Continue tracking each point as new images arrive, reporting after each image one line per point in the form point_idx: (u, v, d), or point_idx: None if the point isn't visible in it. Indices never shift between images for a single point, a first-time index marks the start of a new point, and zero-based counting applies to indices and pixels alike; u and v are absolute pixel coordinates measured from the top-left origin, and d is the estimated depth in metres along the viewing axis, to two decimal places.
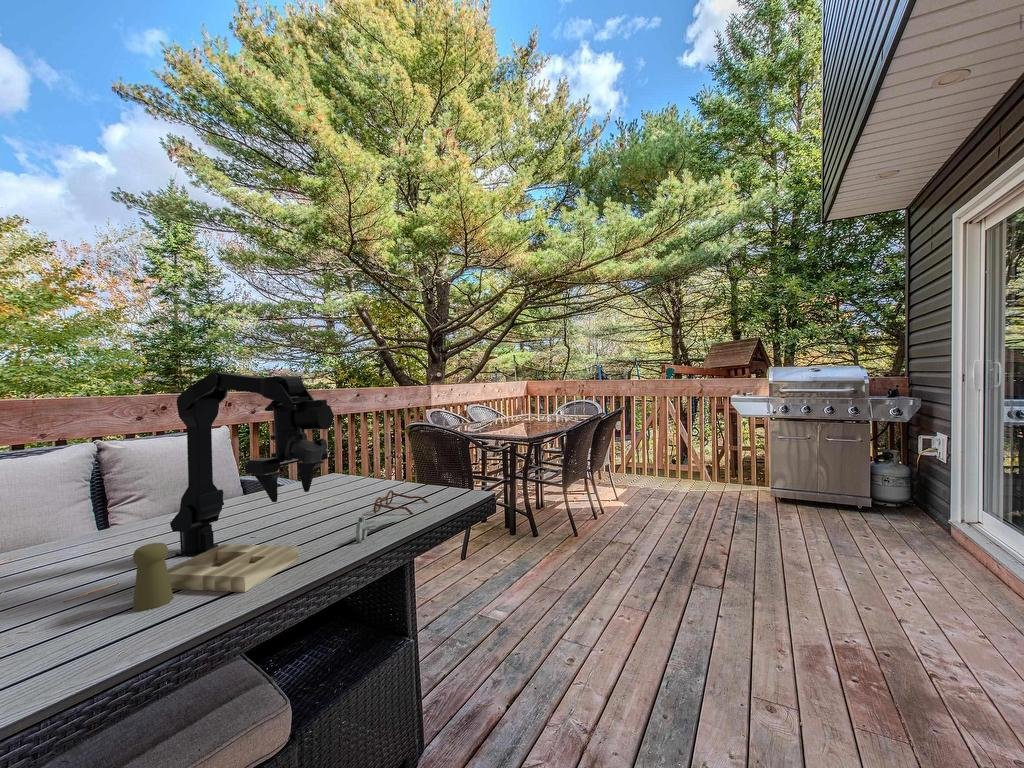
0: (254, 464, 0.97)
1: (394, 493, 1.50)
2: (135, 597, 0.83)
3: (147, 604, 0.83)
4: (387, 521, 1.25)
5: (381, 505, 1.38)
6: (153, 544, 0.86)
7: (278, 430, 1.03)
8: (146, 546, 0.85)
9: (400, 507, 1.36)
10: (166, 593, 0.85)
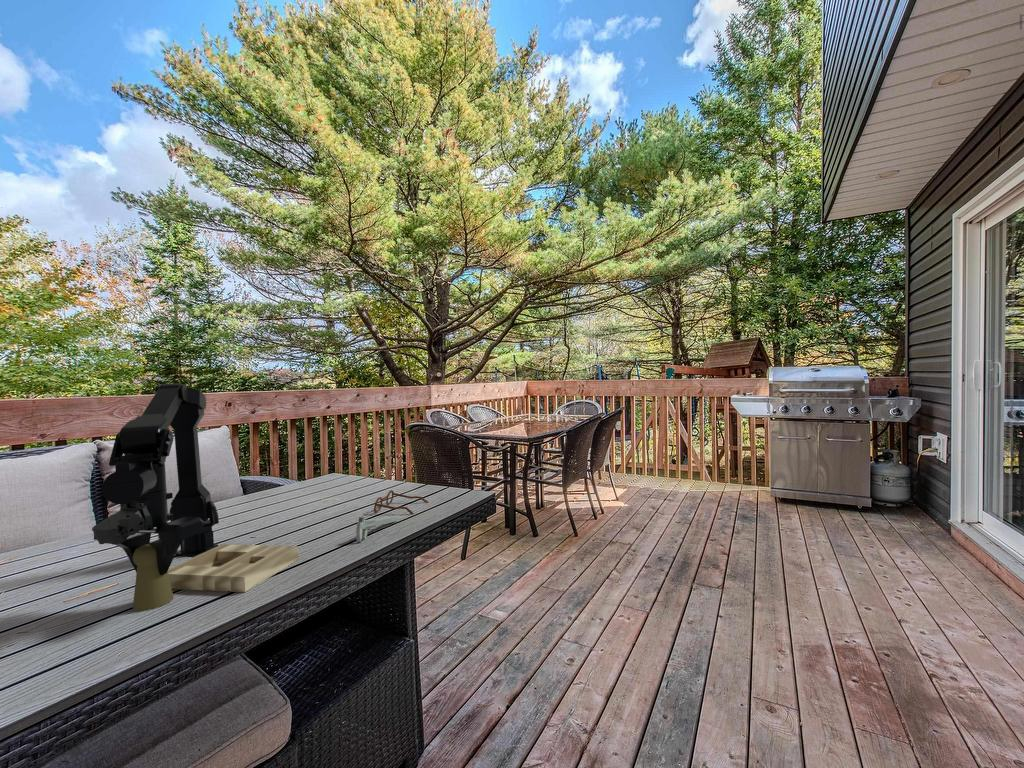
0: None
1: (394, 493, 1.50)
2: (135, 597, 0.83)
3: (147, 604, 0.83)
4: (387, 521, 1.25)
5: (381, 505, 1.38)
6: None
7: None
8: (146, 546, 0.85)
9: (400, 507, 1.37)
10: (166, 593, 0.85)
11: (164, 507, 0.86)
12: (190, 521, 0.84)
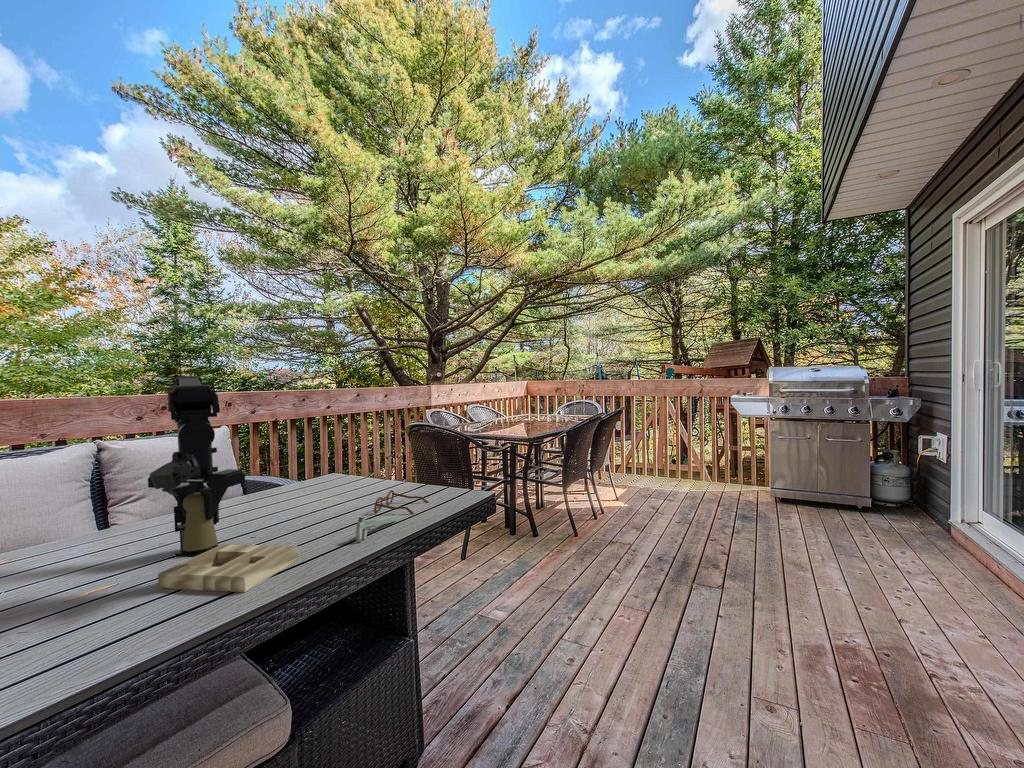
0: None
1: (394, 493, 1.50)
2: (185, 539, 0.93)
3: (195, 545, 0.93)
4: (387, 521, 1.25)
5: (382, 505, 1.38)
6: None
7: (178, 445, 0.93)
8: (194, 494, 0.94)
9: (401, 507, 1.37)
10: (211, 536, 0.95)
11: (210, 459, 0.95)
12: (234, 472, 0.93)
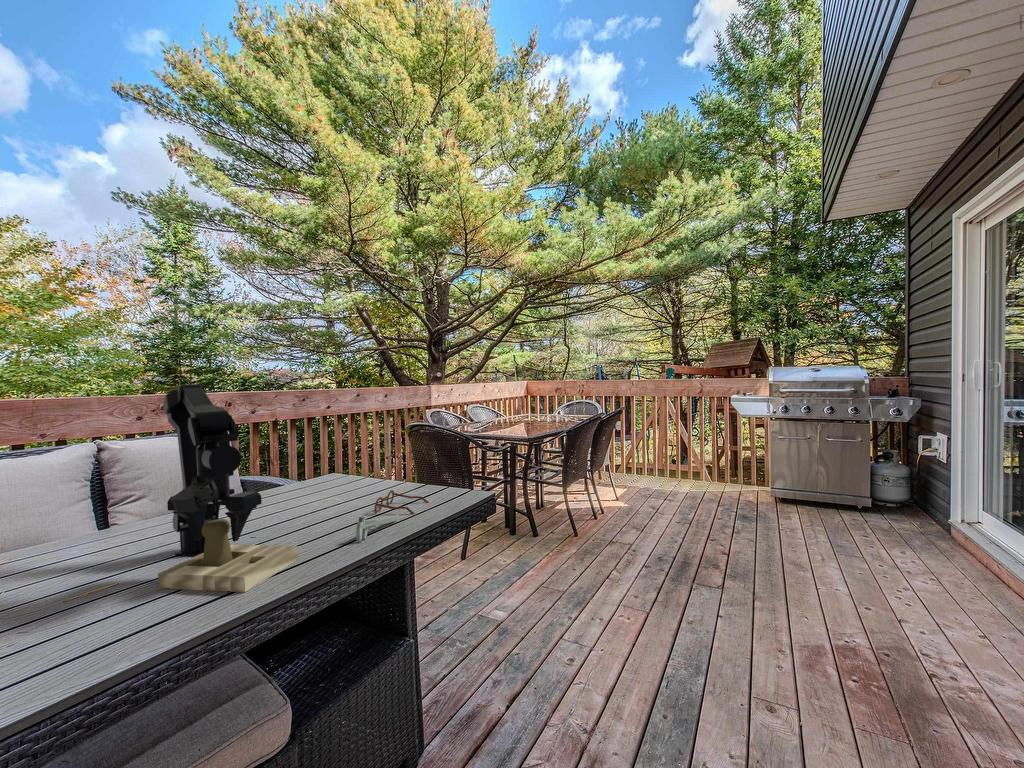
0: None
1: (395, 493, 1.50)
2: (204, 565, 0.97)
3: None
4: (387, 521, 1.25)
5: (382, 505, 1.38)
6: (218, 520, 0.99)
7: (197, 469, 0.97)
8: (212, 521, 0.98)
9: (401, 507, 1.37)
10: None
11: (227, 482, 0.99)
12: (251, 494, 0.97)
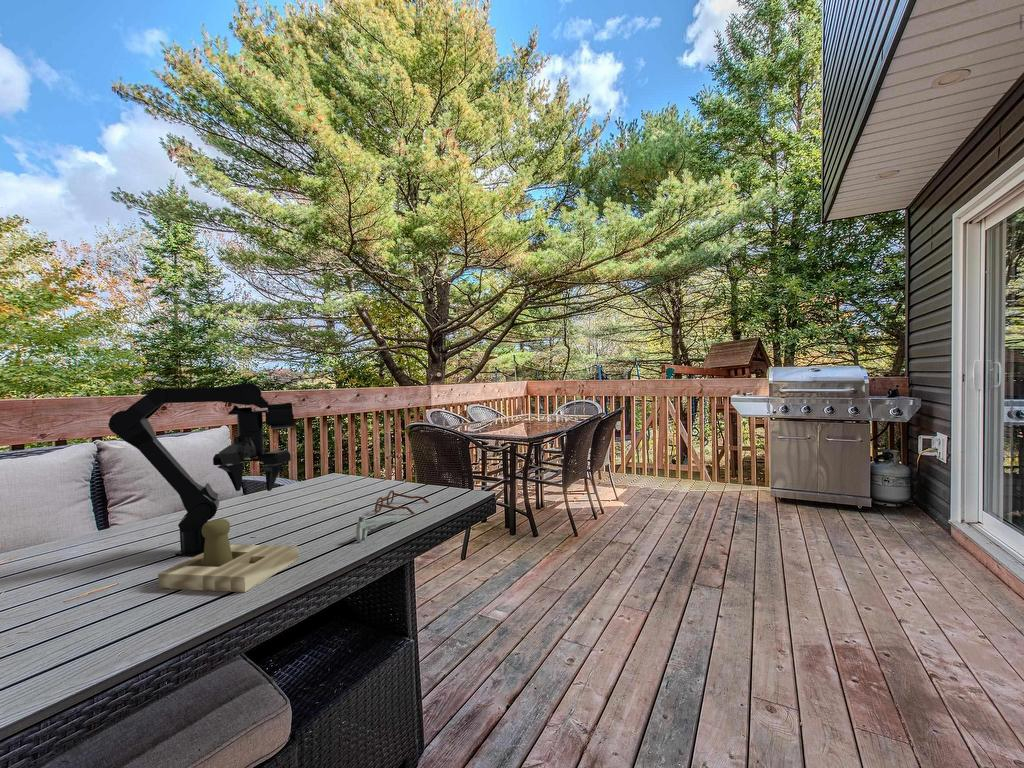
0: None
1: (395, 493, 1.50)
2: (204, 565, 0.96)
3: None
4: (387, 521, 1.26)
5: (382, 505, 1.38)
6: (218, 520, 0.99)
7: (249, 431, 1.16)
8: (212, 521, 0.98)
9: (401, 507, 1.37)
10: None
11: (262, 442, 1.19)
12: (282, 452, 1.17)
